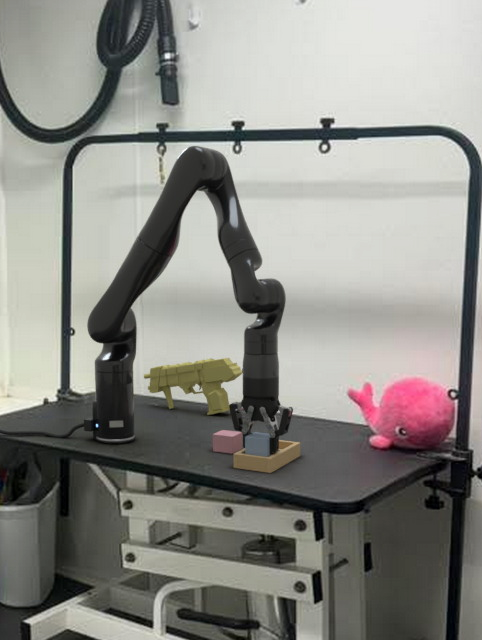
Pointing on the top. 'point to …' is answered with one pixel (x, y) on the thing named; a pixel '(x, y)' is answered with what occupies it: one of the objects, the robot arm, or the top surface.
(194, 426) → the top surface
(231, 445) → the pink block
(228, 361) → the firearm
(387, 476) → the top surface
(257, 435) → the blue block
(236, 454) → the pad holder
